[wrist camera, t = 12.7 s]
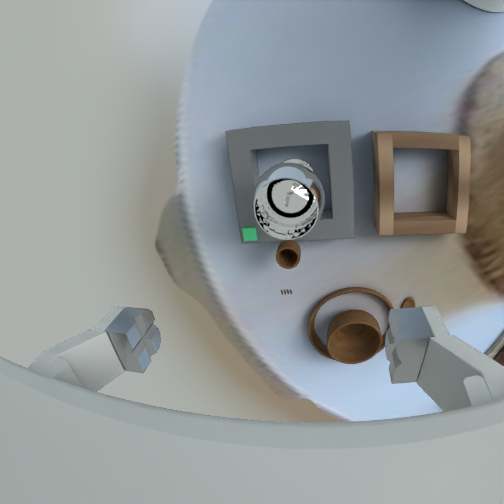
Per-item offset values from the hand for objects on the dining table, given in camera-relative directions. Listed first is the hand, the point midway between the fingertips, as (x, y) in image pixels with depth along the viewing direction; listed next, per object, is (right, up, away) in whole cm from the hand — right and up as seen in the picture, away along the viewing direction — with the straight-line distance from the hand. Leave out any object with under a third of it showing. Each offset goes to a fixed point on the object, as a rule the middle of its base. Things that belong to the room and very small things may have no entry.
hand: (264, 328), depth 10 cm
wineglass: (+4, +10, +23) cm, 25 cm away
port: (+4, +10, +23) cm, 25 cm away
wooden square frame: (+18, +10, +20) cm, 29 cm away
